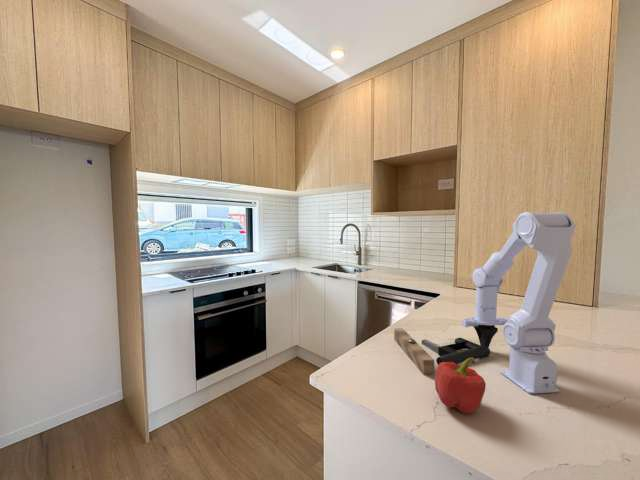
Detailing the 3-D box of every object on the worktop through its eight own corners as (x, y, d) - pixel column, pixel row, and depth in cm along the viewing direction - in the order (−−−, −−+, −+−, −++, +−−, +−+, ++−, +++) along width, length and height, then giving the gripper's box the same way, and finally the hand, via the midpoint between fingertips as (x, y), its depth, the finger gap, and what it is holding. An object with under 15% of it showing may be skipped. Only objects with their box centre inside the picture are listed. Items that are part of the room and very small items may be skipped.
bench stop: (433, 373, 73) (434, 357, 72) (423, 374, 72) (423, 358, 72) (402, 339, 95) (402, 326, 94) (393, 339, 94) (394, 326, 94)
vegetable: (453, 384, 68) (454, 347, 67) (496, 410, 59) (498, 366, 58) (423, 398, 63) (424, 357, 62) (465, 428, 54) (467, 380, 53)
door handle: (407, 340, 89) (446, 360, 74) (452, 331, 96) (496, 348, 81) (407, 350, 89) (446, 372, 74) (452, 340, 96) (496, 359, 81)
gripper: (497, 301, 89) (496, 340, 90) (456, 302, 88) (455, 342, 89) (514, 308, 82) (512, 350, 83) (470, 309, 81) (469, 352, 82)
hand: (484, 347), depth 86 cm, fingers closed
